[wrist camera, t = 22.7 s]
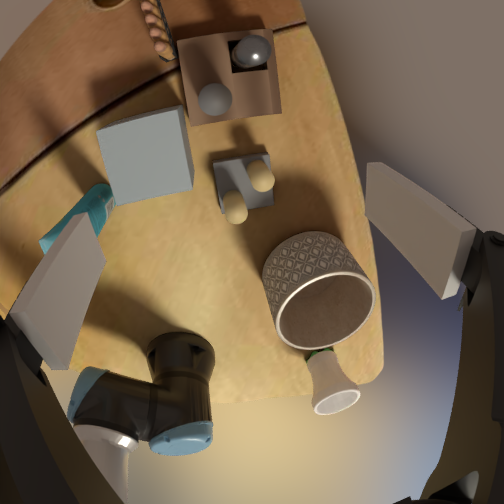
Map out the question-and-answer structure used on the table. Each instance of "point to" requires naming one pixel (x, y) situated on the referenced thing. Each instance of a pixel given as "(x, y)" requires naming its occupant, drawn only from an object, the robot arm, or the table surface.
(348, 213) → the table surface
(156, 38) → the ammunition clip
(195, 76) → the socket board
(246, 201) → the board
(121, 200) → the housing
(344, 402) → the cup
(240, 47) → the peg
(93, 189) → the tube
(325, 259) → the planter
